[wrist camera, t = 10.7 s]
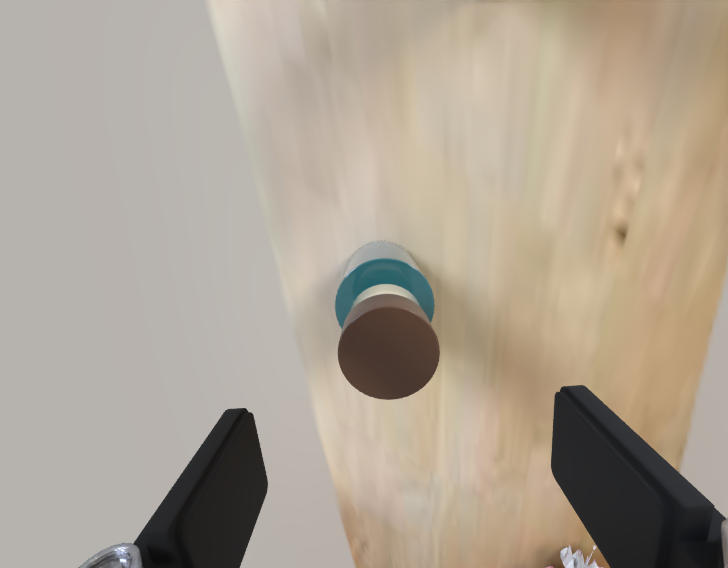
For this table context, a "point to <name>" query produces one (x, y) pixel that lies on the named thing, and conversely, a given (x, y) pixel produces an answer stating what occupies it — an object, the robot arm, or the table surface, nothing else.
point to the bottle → (382, 279)
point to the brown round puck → (388, 347)
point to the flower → (575, 559)
